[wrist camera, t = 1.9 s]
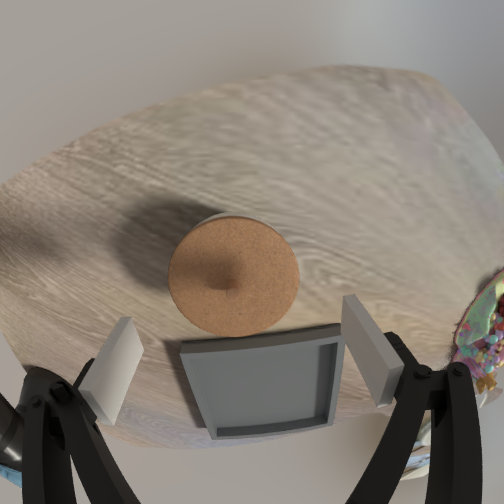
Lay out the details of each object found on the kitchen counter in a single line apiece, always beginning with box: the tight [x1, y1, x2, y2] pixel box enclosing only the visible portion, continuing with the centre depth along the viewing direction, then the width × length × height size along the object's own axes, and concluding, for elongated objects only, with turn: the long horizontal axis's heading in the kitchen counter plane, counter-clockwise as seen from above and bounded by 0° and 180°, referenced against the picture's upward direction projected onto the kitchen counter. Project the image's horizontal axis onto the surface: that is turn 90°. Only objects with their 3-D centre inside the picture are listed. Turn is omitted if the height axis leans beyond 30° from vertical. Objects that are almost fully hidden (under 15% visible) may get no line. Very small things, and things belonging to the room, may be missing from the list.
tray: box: [180, 323, 345, 440], centre depth 35 cm, size 20×20×2 cm
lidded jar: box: [168, 212, 299, 337], centre depth 25 cm, size 11×11×9 cm
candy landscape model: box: [451, 269, 504, 394], centre depth 33 cm, size 25×24×9 cm
